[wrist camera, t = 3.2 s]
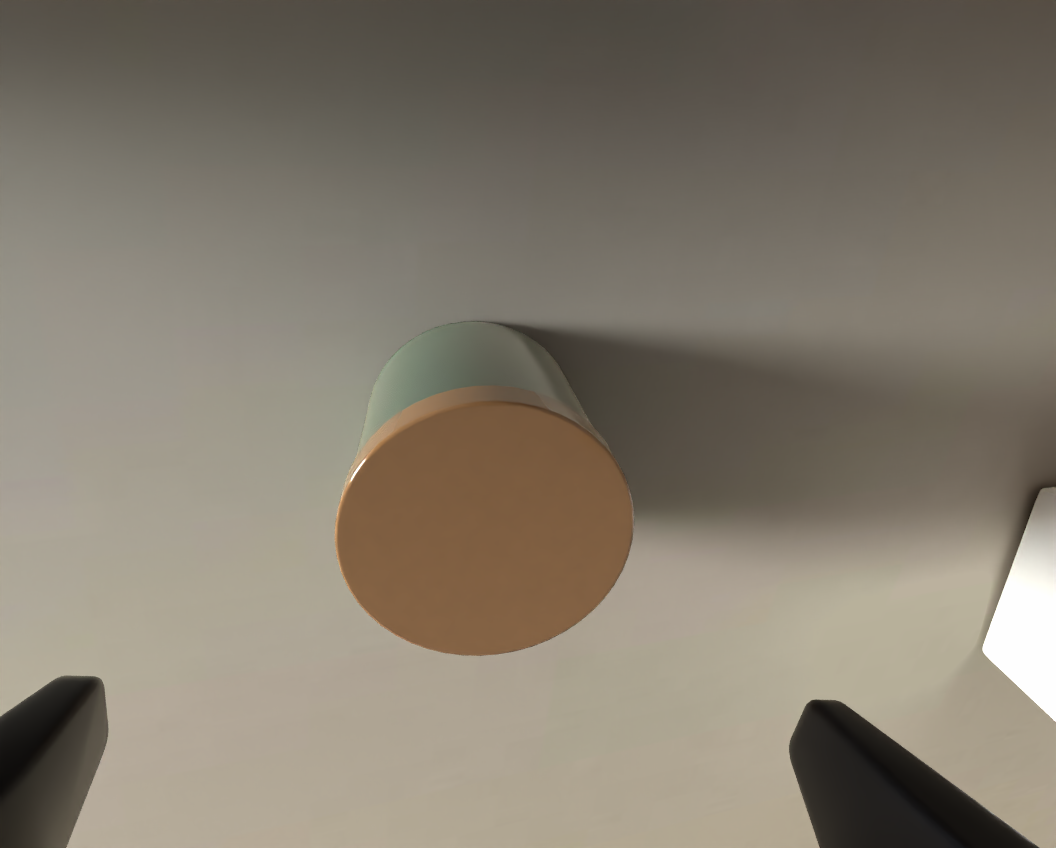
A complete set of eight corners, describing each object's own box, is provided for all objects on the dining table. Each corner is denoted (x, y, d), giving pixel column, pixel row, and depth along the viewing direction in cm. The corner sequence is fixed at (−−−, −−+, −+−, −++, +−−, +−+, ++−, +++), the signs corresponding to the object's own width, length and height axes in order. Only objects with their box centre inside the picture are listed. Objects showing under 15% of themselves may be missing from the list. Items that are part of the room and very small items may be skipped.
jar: (500, 541, 20) (526, 692, 14) (324, 451, 18) (278, 588, 12) (616, 388, 18) (694, 495, 13) (437, 272, 16) (440, 340, 11)
